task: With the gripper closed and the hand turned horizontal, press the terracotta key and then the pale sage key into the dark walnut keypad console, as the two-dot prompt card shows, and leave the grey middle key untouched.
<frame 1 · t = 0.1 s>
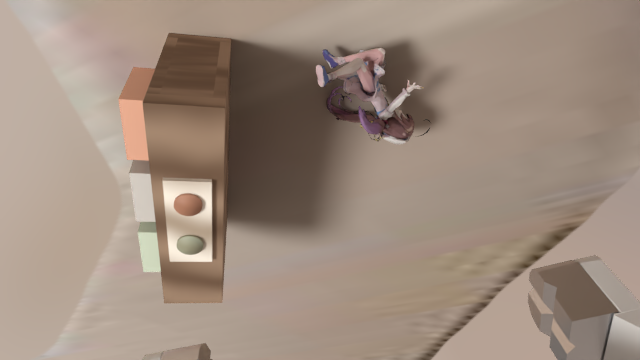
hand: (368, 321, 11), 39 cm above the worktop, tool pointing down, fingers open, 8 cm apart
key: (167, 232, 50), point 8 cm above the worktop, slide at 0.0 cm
key middle: (162, 179, 46), point 8 cm above the worktop, slide at 0.0 cm
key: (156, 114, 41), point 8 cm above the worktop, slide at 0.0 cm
figurine: (358, 75, 50), on the worktop
keypad console: (202, 137, 52), on the worktop
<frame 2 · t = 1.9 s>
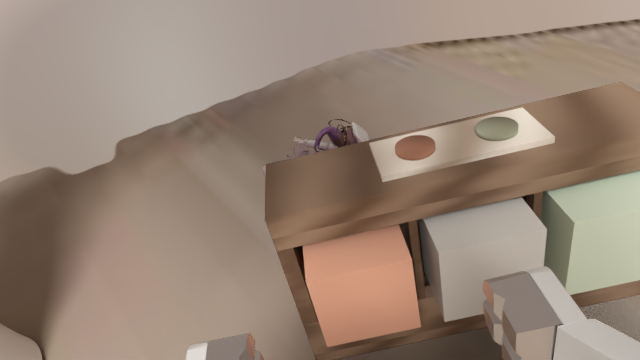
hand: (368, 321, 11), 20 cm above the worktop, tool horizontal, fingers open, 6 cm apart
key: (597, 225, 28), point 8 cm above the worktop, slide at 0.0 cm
key middle: (477, 252, 28), point 8 cm above the worktop, slide at 0.0 cm
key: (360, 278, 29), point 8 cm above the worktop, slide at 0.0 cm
figurine: (329, 199, 50), on the worktop
keypad console: (463, 297, 36), on the worktop
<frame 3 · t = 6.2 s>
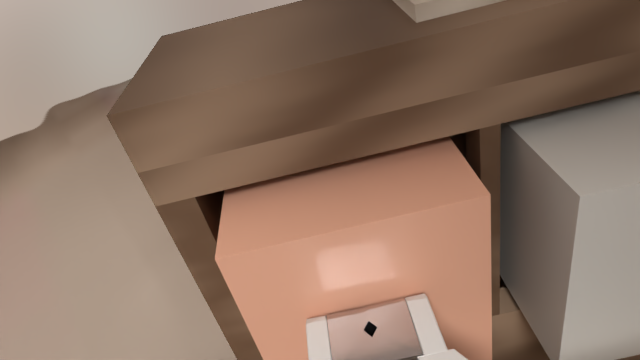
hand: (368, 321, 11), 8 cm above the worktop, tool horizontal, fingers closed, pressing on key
key middle: (631, 210, 12), point 8 cm above the worktop, slide at 0.0 cm
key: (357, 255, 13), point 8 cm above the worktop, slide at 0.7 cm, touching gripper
keypad console: (550, 308, 19), on the worktop
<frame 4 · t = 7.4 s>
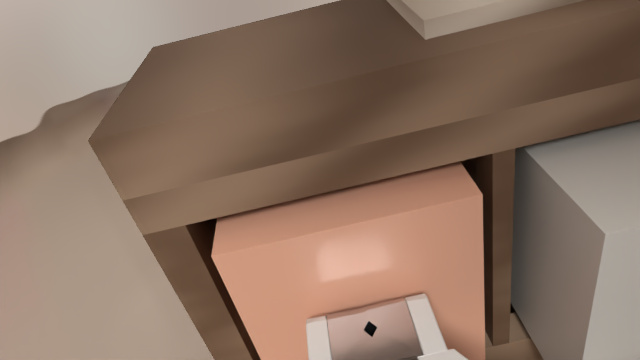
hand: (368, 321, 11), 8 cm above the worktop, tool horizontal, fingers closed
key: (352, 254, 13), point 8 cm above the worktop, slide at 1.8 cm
keypad console: (559, 329, 19), on the worktop
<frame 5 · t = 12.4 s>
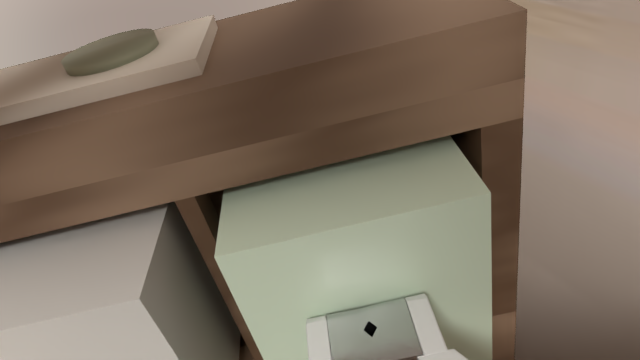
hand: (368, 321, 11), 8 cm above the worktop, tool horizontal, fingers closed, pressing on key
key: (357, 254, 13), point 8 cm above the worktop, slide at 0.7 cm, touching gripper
key middle: (102, 331, 13), point 8 cm above the worktop, slide at 0.0 cm
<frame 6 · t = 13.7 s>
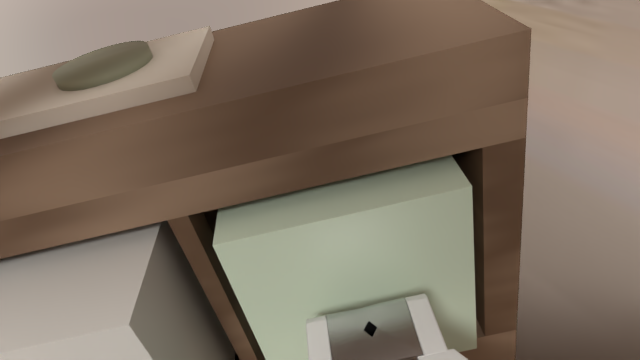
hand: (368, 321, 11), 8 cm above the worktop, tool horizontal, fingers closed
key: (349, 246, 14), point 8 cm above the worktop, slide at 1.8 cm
key middle: (93, 350, 13), point 8 cm above the worktop, slide at 0.0 cm
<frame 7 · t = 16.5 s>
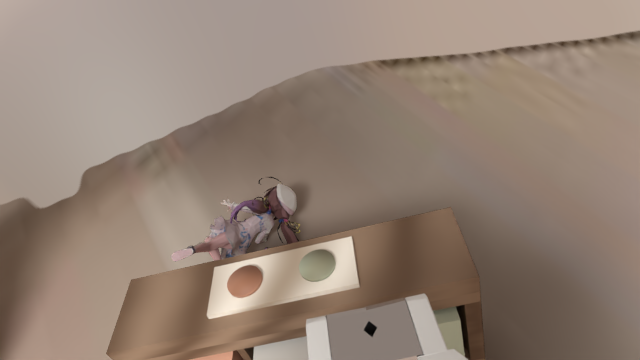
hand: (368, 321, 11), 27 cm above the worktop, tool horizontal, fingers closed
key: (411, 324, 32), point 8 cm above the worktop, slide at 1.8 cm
figurine: (258, 258, 52), on the worktop
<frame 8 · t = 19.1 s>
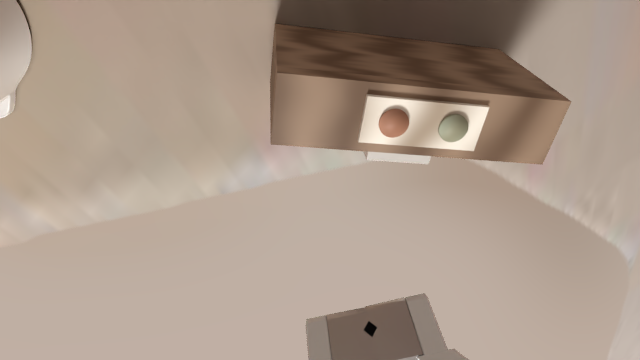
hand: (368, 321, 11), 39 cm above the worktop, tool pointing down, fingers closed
key middle: (395, 125, 44), point 8 cm above the worktop, slide at 0.0 cm
keypad console: (385, 65, 49), on the worktop
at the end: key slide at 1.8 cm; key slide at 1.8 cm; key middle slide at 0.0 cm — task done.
